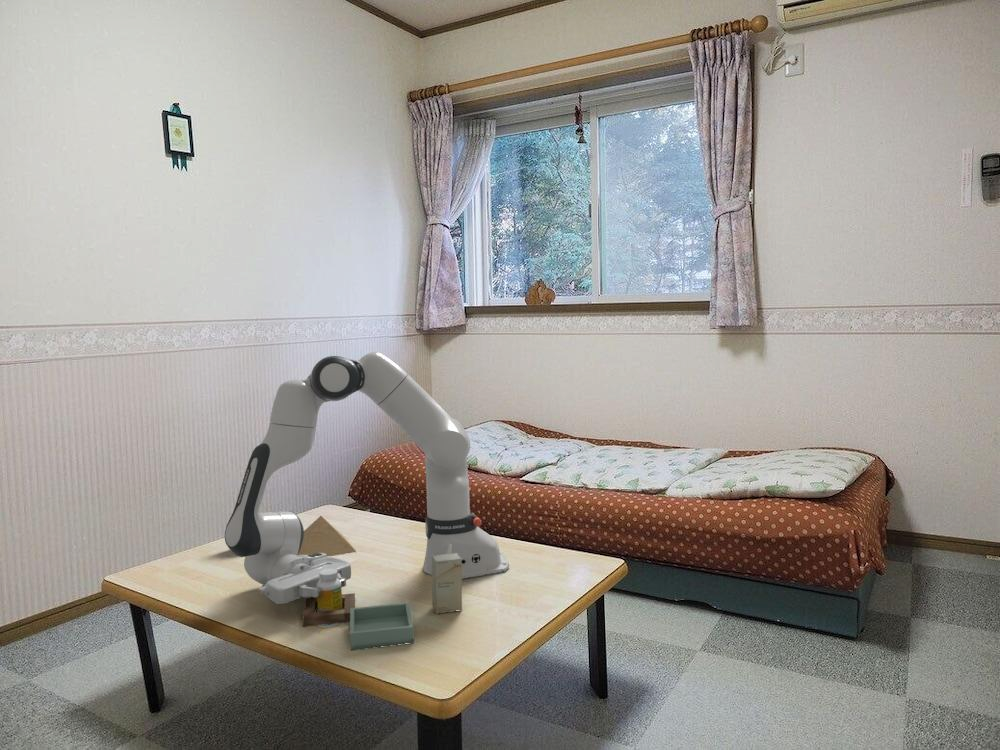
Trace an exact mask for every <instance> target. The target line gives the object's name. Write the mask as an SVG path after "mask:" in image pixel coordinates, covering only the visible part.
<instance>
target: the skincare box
mask: <svg viewBox="0 0 1000 750" xmlns="http://www.w3.org/2000/svg"><path fill="white" fill-rule="evenodd" d="M462 580H463V579H462V571H461V557H460V556H459V554H458V553H452V554H442V555H432V575H431V587H432V588H431V594H432V595H431V600H432V601H431V602H432V606H431V607H432V610H433V611H434V613H435V614H437V615H438V614H439V613H440V614H446V613H445V612H449V613H454V612H453V611H456V610H462V611H463V594H462V593H463V592H462V591H463V589H462V588H463V586H462V585H463V583H462V582H463V581H462Z"/></svg>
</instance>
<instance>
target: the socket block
mask: <svg viewBox="0 0 1000 750" xmlns="http://www.w3.org/2000/svg"><path fill="white" fill-rule="evenodd" d="M343 607H344V608H343ZM350 608H356V594H355V592H354V593H343V594H342V610H332V611H322V612H318V611H317V610H318V606H317V598H315V597H312V596H311V597H305V603H304V609H303V614H302V625H303V626H302V627H303V628H304V627H313V626H321V625H330V624H341V623H350Z"/></svg>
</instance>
